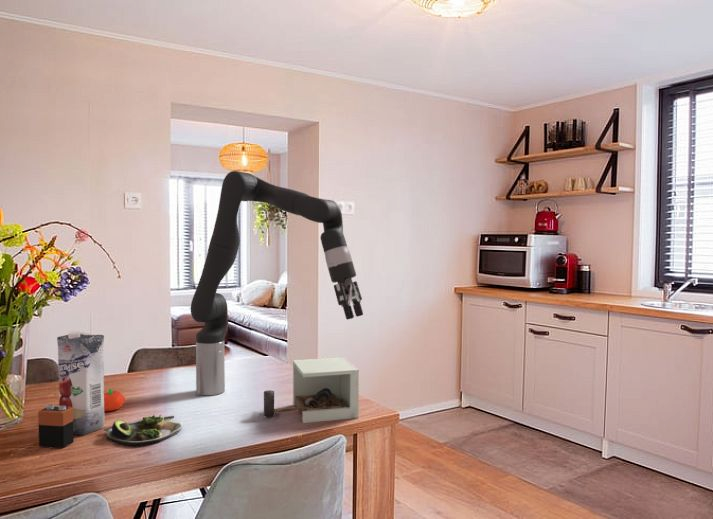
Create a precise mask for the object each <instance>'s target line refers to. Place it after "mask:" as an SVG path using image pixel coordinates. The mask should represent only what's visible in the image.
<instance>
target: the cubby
mask: <svg viewBox="0 0 713 519" xmlns="http://www.w3.org/2000/svg"><path fill="white" fill-rule="evenodd" d="M359 377H360V376H359V369H358V368H357V367H356V366H355V365H353V364H352V363H351V362H350V361H348V360H347V359H346V358H345V357H344V356H343V357H326V358H324V357H322V358H308V359H307V358H306V359H294V360H292V405H293V407H296V396H306V395H317V393H318V392H319V391H321V390H323V389H324V388H328V389H329V390H330V391H331V393H333V394H334V395H335V396H336V397H337V398H338V399H339V401H340V402H341V403H342V404H343V405H344V406H345V408H333V409H322V410H310V411H302V416H301V418H302V419H301V420H302V423H303V424H306V423H319V422H327V421H340V420H350V419H359V408H360V407H359V406H360V405H359V402H360V400H359V399H360V398H359V394H360V392H359V389H360V388H359V385H360V384H359V381H360V380H359Z"/></svg>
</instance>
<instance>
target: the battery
mask: <svg viewBox="0 0 713 519" xmlns="http://www.w3.org/2000/svg"><path fill="white" fill-rule="evenodd" d="M44 407H45V408H42V409H40V410H39V411H38V412H37V414H38V418H37V421H38V446H39V448H50V447H53V449H64V448H66V447H68V446H70V445H71V444H73V443H74V434H73V408H72V407H66V406H59V405H58V406H56V405H55V404H54V403H50V404H49V403H48V404H45V405H44ZM67 445H68V446H67Z"/></svg>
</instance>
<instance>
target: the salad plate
mask: <svg viewBox="0 0 713 519" xmlns="http://www.w3.org/2000/svg"><path fill="white" fill-rule="evenodd" d="M174 418H175V415H169V416H163V417H162V414H159V415H158V416H155V415H152V416H151V415H149V416H144V417H142V418H140V419H137V420H133V421H132V422H126V421H124V420H120V419H115V421H114V422H113V424H112V426H109V427H105V428H103V431H105V432H106V434H105V436H106V439H108V440H109V441H110V442H112V443H114V444H117V445H119V446H124V447H129V448H130V447H131V448H132V447H133V448H134V447H136V448H139V447H146V446H151V445H155V444H158V443H160V442H162V441H164V440H166V439H169V438H171V437H173V436H174V435H176V434H177V433H179V432H180V431H181V430H182V429H183V425H182V423H179V422H173V421H171V420H172V419H174ZM163 430H165V431H169V434H165V435H163V433H162V431H163ZM162 435H163V436H162Z"/></svg>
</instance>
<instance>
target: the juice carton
mask: <svg viewBox="0 0 713 519" xmlns="http://www.w3.org/2000/svg"><path fill="white" fill-rule="evenodd" d="M104 339H105V335H103V334H89V333H85V332H81V331H80V330H73V331H69V332H67V334H65V335H60V336H57V337H56V340H57V355H58V356H57V359H58V360H57V363H58V364H57V367H58V370H57V371H58V407H59V406H66V407H72V408H73V435H77V436H81V437H82V436H85V435H88V434H91V433H93V432H95V431H99V430H101V429H104V427H105V411H104V394H105V385H104V384H105V380H104V379H105V377H104V376H105V373H104V371H105V370H104Z"/></svg>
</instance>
